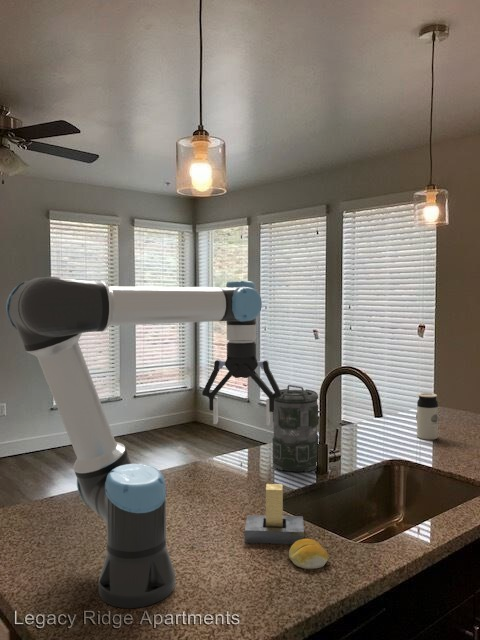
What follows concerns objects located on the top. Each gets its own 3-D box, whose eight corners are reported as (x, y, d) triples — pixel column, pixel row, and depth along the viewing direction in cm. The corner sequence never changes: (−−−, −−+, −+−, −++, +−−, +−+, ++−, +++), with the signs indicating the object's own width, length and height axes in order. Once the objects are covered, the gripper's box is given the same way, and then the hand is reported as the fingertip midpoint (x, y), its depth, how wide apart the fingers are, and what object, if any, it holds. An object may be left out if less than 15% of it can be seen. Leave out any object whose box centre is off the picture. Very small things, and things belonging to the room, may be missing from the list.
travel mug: (413, 436, 222) (413, 393, 221) (429, 434, 224) (429, 392, 224) (425, 440, 215) (425, 396, 214) (441, 439, 217) (442, 395, 216)
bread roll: (317, 548, 123) (317, 531, 123) (332, 567, 114) (332, 549, 114) (283, 552, 121) (283, 535, 121) (296, 572, 113) (296, 553, 112)
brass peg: (282, 539, 128) (282, 490, 127) (266, 538, 128) (265, 489, 127) (282, 532, 132) (282, 484, 131) (266, 531, 132) (266, 483, 131)
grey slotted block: (304, 544, 125) (304, 532, 125) (244, 542, 126) (244, 530, 126) (302, 528, 134) (302, 516, 134) (247, 526, 135) (247, 514, 135)
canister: (263, 465, 184) (262, 385, 183) (294, 456, 195) (293, 380, 194) (296, 476, 172) (296, 391, 171) (328, 466, 183) (327, 385, 182)
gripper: (290, 340, 138) (291, 421, 139) (196, 340, 141) (197, 419, 142) (289, 342, 130) (289, 428, 131) (190, 342, 134) (191, 425, 135)
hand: (241, 423), depth 137 cm, fingers open, 13 cm apart
